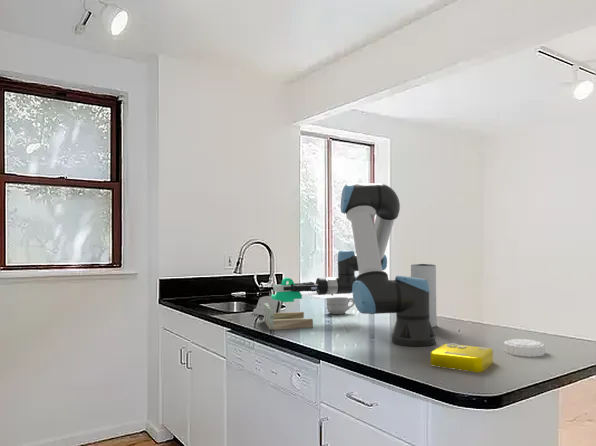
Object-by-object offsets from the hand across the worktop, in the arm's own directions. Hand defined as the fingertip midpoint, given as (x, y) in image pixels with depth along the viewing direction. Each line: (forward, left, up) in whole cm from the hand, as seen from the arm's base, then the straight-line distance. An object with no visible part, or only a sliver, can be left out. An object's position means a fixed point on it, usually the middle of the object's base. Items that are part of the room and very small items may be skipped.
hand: (274, 288), depth 220 cm
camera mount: (+3, -5, -6) cm, 9 cm away
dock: (0, -4, -16) cm, 17 cm away
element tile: (-79, -45, -17) cm, 93 cm away
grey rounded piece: (+32, 0, -16) cm, 36 cm away
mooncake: (-71, -71, -16) cm, 102 cm away
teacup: (+23, -35, -16) cm, 45 cm away
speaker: (-19, -60, -16) cm, 65 cm away
